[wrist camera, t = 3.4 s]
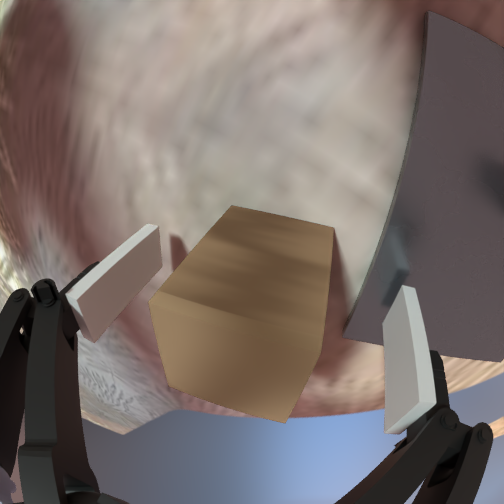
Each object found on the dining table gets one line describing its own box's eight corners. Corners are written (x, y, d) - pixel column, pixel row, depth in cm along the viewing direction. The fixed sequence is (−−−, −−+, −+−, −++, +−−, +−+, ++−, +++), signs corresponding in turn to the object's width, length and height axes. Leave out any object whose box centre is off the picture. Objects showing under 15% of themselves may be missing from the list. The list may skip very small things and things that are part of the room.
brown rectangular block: (226, 284, 17) (168, 386, 11) (231, 205, 14) (148, 302, 8) (311, 305, 16) (285, 423, 10) (333, 227, 13) (321, 353, 7)
